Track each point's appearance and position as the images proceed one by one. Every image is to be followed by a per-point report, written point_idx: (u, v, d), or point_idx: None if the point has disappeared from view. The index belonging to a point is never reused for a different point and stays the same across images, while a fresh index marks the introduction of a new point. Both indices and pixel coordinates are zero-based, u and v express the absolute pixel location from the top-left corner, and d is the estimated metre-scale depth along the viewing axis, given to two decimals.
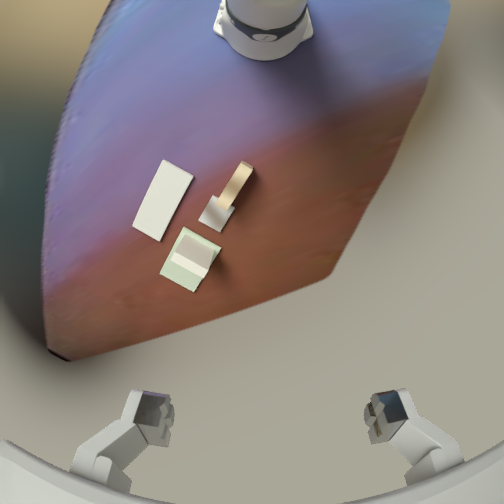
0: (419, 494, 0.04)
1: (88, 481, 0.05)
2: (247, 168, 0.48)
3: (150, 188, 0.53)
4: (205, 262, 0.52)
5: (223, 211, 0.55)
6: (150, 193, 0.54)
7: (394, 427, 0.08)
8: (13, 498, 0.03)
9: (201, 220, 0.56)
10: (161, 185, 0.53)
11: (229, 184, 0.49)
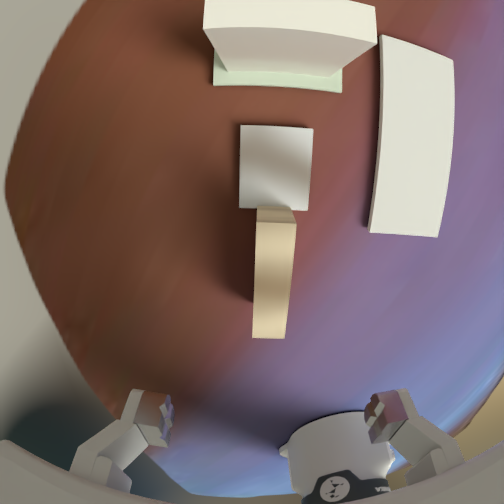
0: (419, 494, 0.04)
1: (88, 481, 0.05)
2: (264, 335, 0.20)
3: (447, 164, 0.18)
4: (232, 42, 0.10)
5: (261, 184, 0.20)
6: (445, 152, 0.18)
7: (394, 427, 0.08)
8: (13, 497, 0.03)
9: (305, 132, 0.18)
10: (428, 179, 0.19)
11: (286, 289, 0.19)
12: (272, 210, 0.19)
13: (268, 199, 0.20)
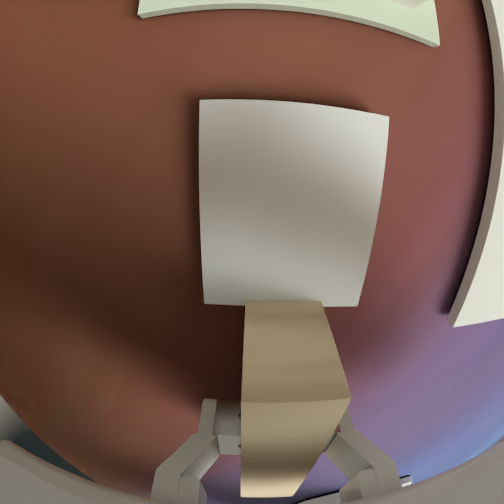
0: (419, 494, 0.04)
1: (88, 481, 0.05)
2: (261, 496, 0.09)
3: None
4: None
5: (255, 255, 0.08)
6: None
7: None
8: (13, 497, 0.03)
9: (370, 123, 0.06)
10: None
11: (303, 469, 0.07)
12: (282, 325, 0.08)
13: (272, 287, 0.08)
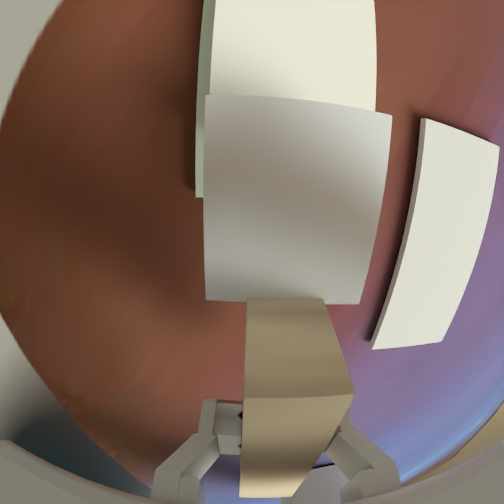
0: (419, 494, 0.04)
1: (88, 481, 0.05)
2: (260, 496, 0.09)
3: (468, 273, 0.16)
4: None
5: (258, 251, 0.08)
6: (469, 262, 0.15)
7: None
8: (13, 498, 0.03)
9: (373, 121, 0.06)
10: (444, 293, 0.16)
11: (304, 468, 0.07)
12: (285, 321, 0.08)
13: (274, 284, 0.08)
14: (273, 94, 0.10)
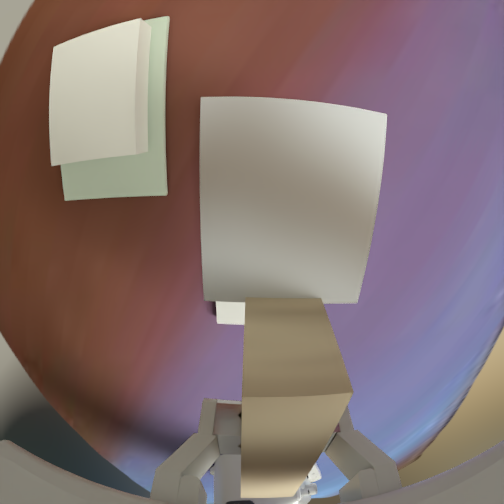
0: (419, 494, 0.04)
1: (88, 481, 0.05)
2: (261, 496, 0.09)
3: None
4: (60, 68, 0.12)
5: (255, 251, 0.08)
6: None
7: None
8: (13, 497, 0.03)
9: (368, 120, 0.06)
10: None
11: (304, 468, 0.07)
12: (283, 321, 0.08)
13: (272, 284, 0.08)
14: (76, 132, 0.14)
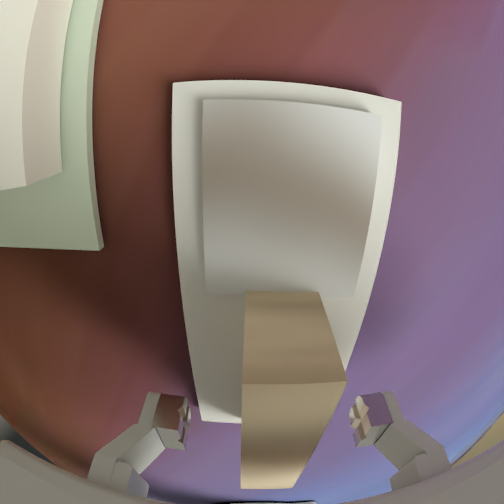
0: (419, 494, 0.04)
1: (88, 481, 0.05)
2: (261, 487, 0.09)
3: (348, 344, 0.11)
4: None
5: (255, 246, 0.08)
6: (345, 327, 0.11)
7: (378, 430, 0.08)
8: (13, 497, 0.03)
9: (364, 121, 0.07)
10: None
11: (302, 457, 0.08)
12: (281, 313, 0.08)
13: (271, 278, 0.09)
14: None
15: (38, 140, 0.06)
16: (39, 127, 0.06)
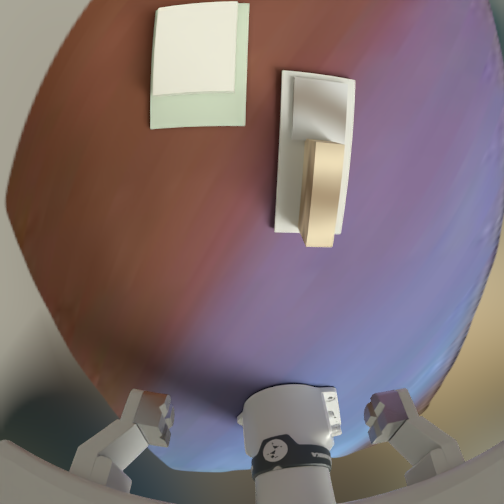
0: (419, 494, 0.04)
1: (88, 481, 0.05)
2: (316, 244, 0.24)
3: (345, 173, 0.26)
4: (167, 24, 0.17)
5: (309, 122, 0.23)
6: (343, 163, 0.25)
7: (394, 427, 0.08)
8: (13, 497, 0.03)
9: (342, 86, 0.21)
10: None
11: (336, 199, 0.22)
12: (320, 140, 0.23)
13: (315, 134, 0.23)
14: (182, 71, 0.19)
15: None
16: None
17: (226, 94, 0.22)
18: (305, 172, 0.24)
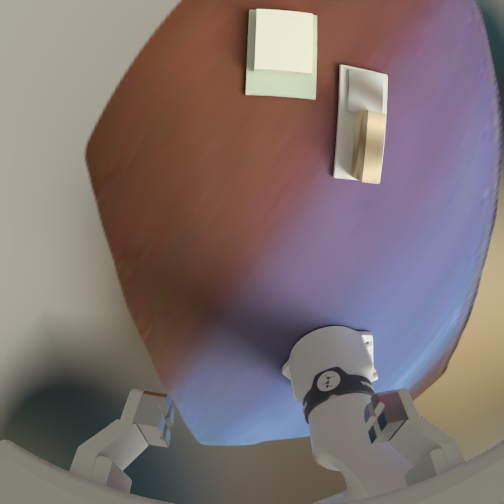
0: (419, 494, 0.04)
1: (88, 481, 0.05)
2: (368, 180, 0.31)
3: None
4: (264, 22, 0.25)
5: (359, 100, 0.31)
6: None
7: (394, 427, 0.08)
8: (13, 497, 0.03)
9: (379, 78, 0.29)
10: None
11: (381, 149, 0.30)
12: None
13: (363, 108, 0.31)
14: (276, 55, 0.27)
15: None
16: None
17: (303, 76, 0.30)
18: (357, 133, 0.32)
